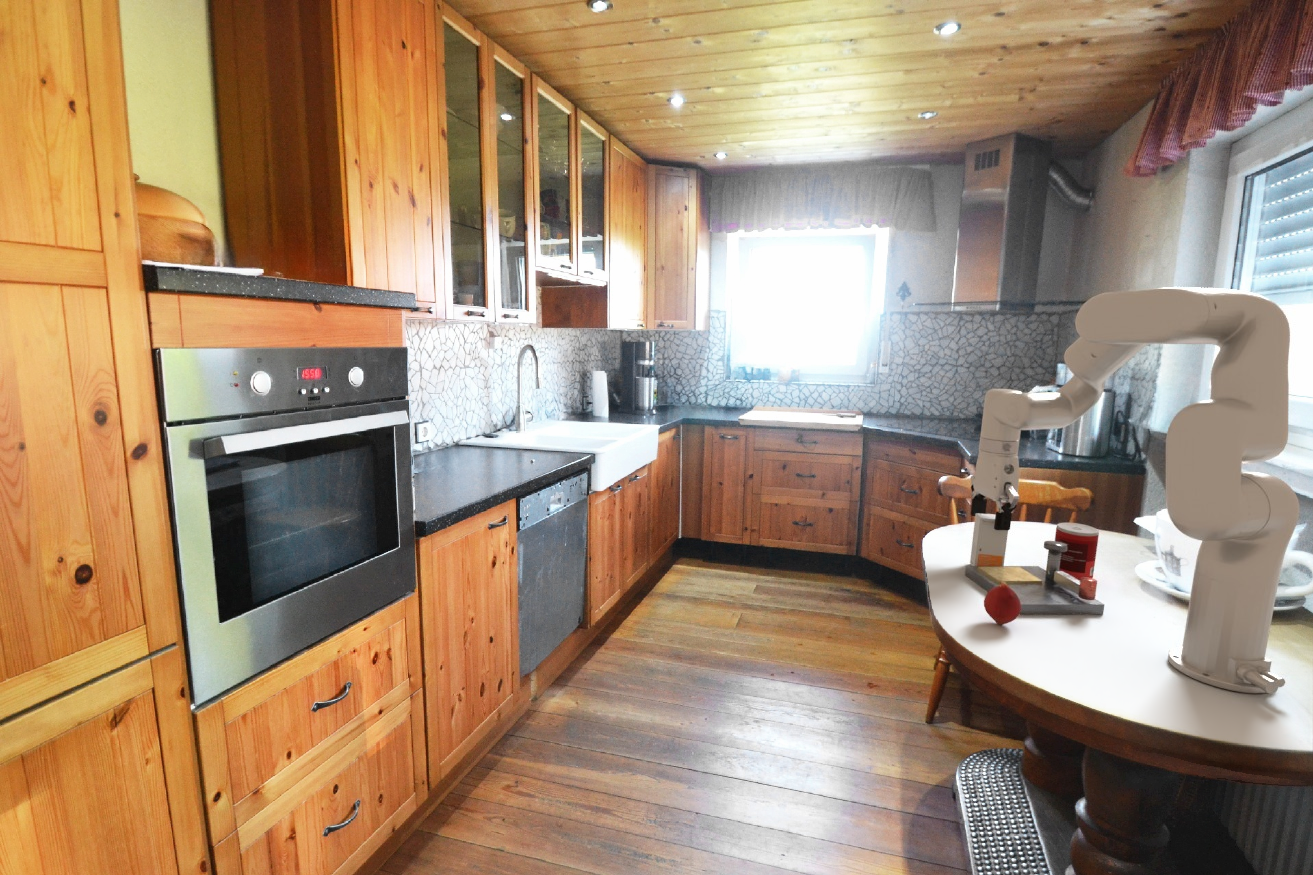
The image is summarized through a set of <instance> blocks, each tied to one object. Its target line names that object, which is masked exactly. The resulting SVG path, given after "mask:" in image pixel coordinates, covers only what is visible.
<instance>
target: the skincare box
mask: <svg viewBox="0 0 1313 875" xmlns="http://www.w3.org/2000/svg"><path fill="white" fill-rule="evenodd" d="M995 516H996V513H995V514H993V513H985V514H980V513H976V514H975V516H974V526H973V533H972V541H971V542H972V543H971V550H970V551H971V552H970V560H969V564H970V566H1005V557H1006V549H1007V541H1008V534H1009V530H995V529H994V524H995Z"/></svg>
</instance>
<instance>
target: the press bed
mask: <svg viewBox="0 0 1313 875" xmlns="http://www.w3.org/2000/svg"><path fill="white" fill-rule="evenodd" d="M1043 549H1045V550H1047V551H1048V553H1047V559H1046V569H1044V568H1042V567H1041V566H1038V565H1004V566H972V565H965V570H964V576H966V577H967V578H968V579H970V580H971V581H973V582H974V583H975V584H976V585H978V586H979V587H981V588H982V589H983V590H985V591H986V590H987V591H986V592H987V593H988V592H989V591H990V590H991V589H993V588H995V587H997V586H1000V582H1002V581H1003V582H1005V583H1006V584H1007V585H1008V586H1009V587H1010V588H1011V589H1012V590H1013V591H1014V592H1015V593H1016V594H1017V596H1018V598H1019V600H1020V602H1021V612H1020V615H1019V616H1022V615H1023V616H1025V615H1027V616H1030V615H1032V616H1034V615H1035V614H1036V615H1037V614H1038V615H1039V614H1043V615H1042V616H1044V615H1047V616H1049V615H1051V616H1052V615H1054V616H1055V615H1058V616H1059V615H1062V616H1063V615H1064V616H1066V615H1070V616H1071V615H1073V616H1076V615H1077V616H1078V615H1083V616H1084V615H1104V612H1105V603H1104V602H1103V603H1102V602H1101V601H1099V600H1097V599H1096V598H1095V600H1085V599H1082V598H1080V597H1079V596H1078V595H1077V594H1076V593H1074V592H1072V591H1070V590H1069V589H1067V588H1065V587H1064V586H1062V585H1060V584H1059V583H1057V582H1055V581H1054V573H1055V571H1059V567H1060V559H1061V552H1066V551H1067V545H1066V544H1064V543H1061V542H1057V541H1055V540H1045V541H1044V543H1043ZM1038 615H1037V616H1038Z"/></svg>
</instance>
